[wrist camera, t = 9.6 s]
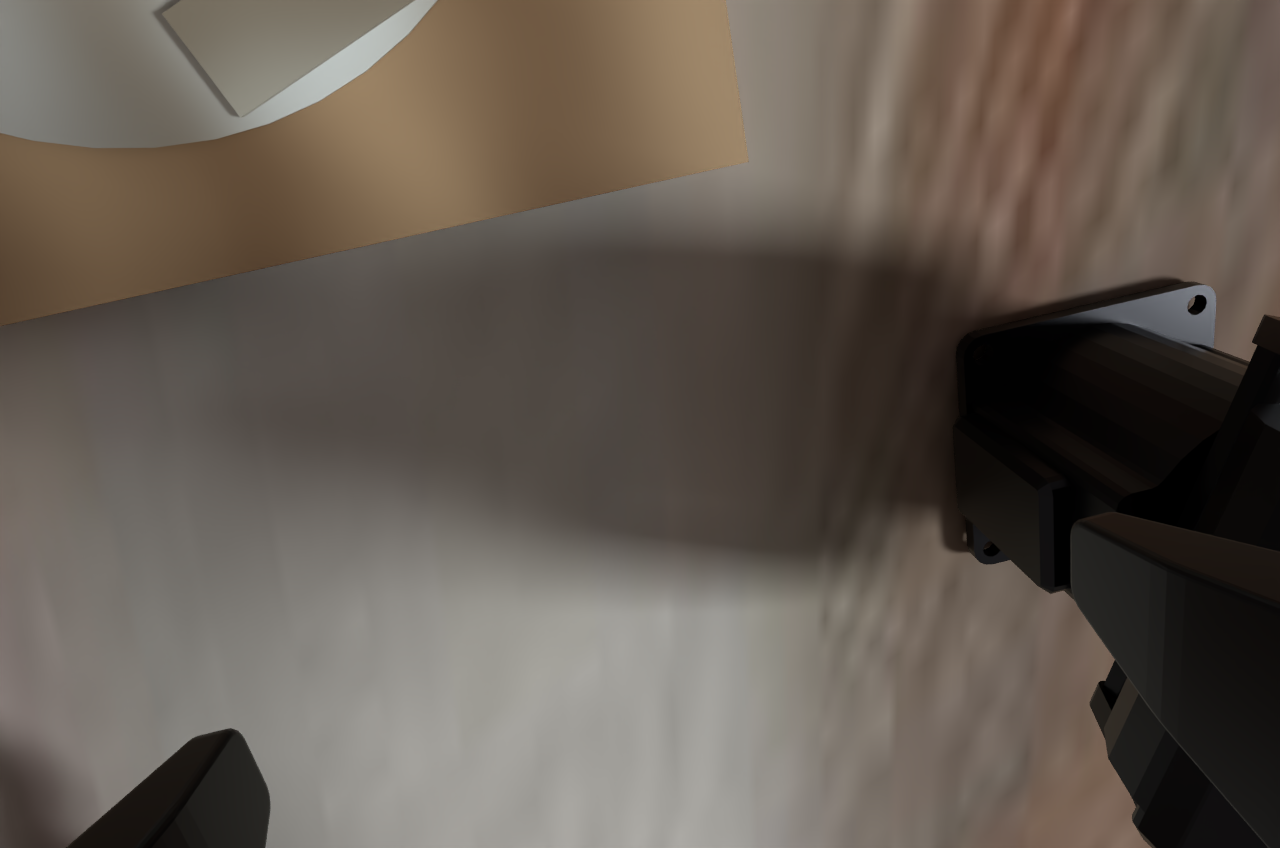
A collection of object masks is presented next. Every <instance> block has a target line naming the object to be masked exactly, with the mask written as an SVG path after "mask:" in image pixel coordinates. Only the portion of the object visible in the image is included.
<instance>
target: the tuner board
mask: <svg viewBox="0 0 1280 848" xmlns="http://www.w3.org/2000/svg"><path fill="white" fill-rule="evenodd" d="M745 162H749V161H748V154H747V147H746V140H745V133H744V126H743V119H742V112H741V105H740V98H739V91H738V84H737V77H736V70H735V63H734V56H733V49H732V42H731V35H730V28H729V21H728V14H727V7H726V0H0V326H3V325H8V324H12V323H17V322H21V321H26V320H31V319H35V318H40V317H44V316H49V315H53V314H58V313H62V312H67V311H71V310H76V309H81V308H85V307H90V306H94V305H99V304H103V303H108V302H112V301H117V300H122V299H126V298H131V297H135V296H140V295H144V294H149V293H153V292H158V291H163V290H167V289H172V288H176V287H181V286H185V285H190V284H194V283H199V282H203V281H208V280H213V279H217V278H222V277H226V276H231V275H235V274H240V273H244V272H249V271H254V270H258V269H263V268H267V267H272V266H276V265H281V264H285V263H290V262H294V261H299V260H304V259H308V258H313V257H317V256H322V255H326V254H331V253H335V252H340V251H345V250H349V249H354V248H358V247H363V246H367V245H372V244H376V243H381V242H386V241H390V240H395V239H399V238H404V237H408V236H413V235H417V234H422V233H426V232H431V231H436V230H440V229H445V228H449V227H454V226H458V225H463V224H467V223H472V222H477V221H481V220H486V219H490V218H495V217H499V216H504V215H508V214H513V213H518V212H522V211H527V210H531V209H536V208H540V207H545V206H549V205H554V204H558V203H563V202H568V201H572V200H577V199H581V198H586V197H590V196H595V195H599V194H604V193H609V192H613V191H618V190H622V189H627V188H631V187H636V186H640V185H645V184H650V183H654V182H659V181H663V180H668V179H672V178H677V177H681V176H686V175H690V174H695V173H700V172H704V171H709V170H713V169H718V168H722V167H727V166H731V165H736V164H741V163H745Z"/></svg>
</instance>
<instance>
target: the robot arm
mask: <svg viewBox="0 0 1280 848" xmlns="http://www.w3.org/2000/svg"><path fill="white" fill-rule="evenodd" d="M1194 296H1195V302H1194V305H1193V306H1192V307H1191V308H1190V309H1187V306H1188V303H1189V301H1190V300H1191V299H1192V297H1194ZM1215 313H1216V295H1215V292H1214V291H1213V289H1212V288H1211V287H1209V286H1207V285H1204V284H1200V283H1197V282H1184V283H1179V284H1175V285H1171V286H1166V287H1162V288H1158V289H1153V290H1149V291H1145V292H1141V293H1136V294H1132V295H1128V296H1123V297H1119V298H1115V299H1110V300H1106V301H1102V302H1097V303H1093V304H1089V305H1085V306H1080V307H1076V308H1072V309H1067V310H1063V311H1059V312H1054V313H1050V314H1046V315H1042V316H1037V317H1033V318H1029V319H1024V320H1020V321H1016V322H1011V323H1007V324H1003V325H999V326H994V327H990V328H986V329H981V330H977V331H973V332H971V333H969V334H967V335H966V336H965V337H964V338H963V339H961V341H960V343H959V344H958V346H957V351H956V363H957V380H958V397H959V414H960V416H959V417H958V418H957V420H956V422H955V424H954V426H953V439H954V455H955V471H956V487H957V503H958V509H959V511H960V512H961V513H962V514H963V515H964V516H965V517H966V532H967V546H968V549H969V551H970V553H971V554H972V555H973V556H974V557H975V558H976V559H977V560H978V561H979V562H980V563H983V564H995V563H999V562H1003V561H1007V560H1011V561H1012V562H1013V563H1014V564H1015V565H1017V566H1018V567H1019V568H1020V569H1021V570H1022V571H1023V572H1024V573H1025V574H1026V575H1027V576H1028V577H1029V578H1030V579H1031V580H1032V581H1033V582H1034V583H1035V584H1036V585H1037V586H1039V587H1040V588H1042V589H1044V590H1045V591H1047V592H1049V593H1050V594H1052V593H1056V592H1060V591H1065V592H1066V593H1067V594H1068V595H1069V596H1070V597H1072V598H1073V599H1074V600H1075V601H1076V604H1077V606H1078V607H1079V609H1080V610H1081V612H1082V613H1083V615H1084V616H1085V617H1086V619H1087V620H1088V622H1089V623H1090V625H1091V626H1092V627H1093V629H1094V630H1095V632H1096V633H1097V635H1098V636H1099V637H1100V639H1101V640H1102V642H1103V643H1104V645H1105V646H1106V647H1107V649H1108V650H1109V652H1110V653H1111V654H1112V656H1113V657H1114V659H1115V661H1114V663H1113V666H1112V668H1111V670H1110V672H1109V674H1108V677H1107V679H1106V681H1100V682H1099V683H1098V685H1097V687H1096V689H1095V692H1094V694H1093V696H1092V698H1091V701H1090V707H1091V709H1092V711H1093V713H1094V716H1095V718H1096V720H1097V722H1098V724H1099V727H1100V729H1101V731H1102V733H1103V735H1104V738H1105V740H1106V747H1107V753H1108V759H1109V760H1110V762H1111V764H1112V765H1113V767H1114V769H1115V770H1116V772H1117V774H1118V775H1119V777H1120V778H1121V780H1122V782H1123V783H1124V785H1125V787H1126V788H1127V790H1128V792H1129V793H1130V795H1131V797H1132V799H1133V801H1134V803H1135V805H1136V808H1135V810H1134V812H1133V814H1132V821H1133V823H1134V824H1135V826H1136V828H1137V830H1138V831H1139V833H1140V835H1141V836H1142V838H1143V839H1144V840H1145V841H1146V842H1147V843H1148V844H1149V845H1150V846H1151V847H1152V848H1280V317H1276V316H1271V315H1264V316H1263V318H1262V321H1261V323H1260V325H1259V327H1258V329H1257V332H1256V334H1255V336H1254V338H1253V341H1252V342H1253V343H1254V344H1257V348H1256V350H1255V352H1254V354H1253V356H1252V359H1251V361H1250V362H1249V361H1246V360H1243V359H1241V358H1238V357H1235V356H1232V355H1230V354H1227V353H1224V352H1222V351H1219V350H1216V349H1214V348H1213V346H1214V330H1215ZM982 345H985V352H984V354H983V355H982V357H981V358H979V359H977V360H974V358H973V356H974V352H975V350H976V349H977V348H978V347H980V346H982ZM989 541H991V542H992V543H993V544H992V545H991V546H990V547H989V548H987V549H984V546H985V544H986V543H987V542H989ZM269 816H270V796H269V791H268V788H267V785H266V783H265V781H264V778H263V776H262V774H261V772H260V770H259V768H258V766H257V764H256V762H255V760H254V757H253V755H252V753H251V751H250V749H249V747H248V745H247V743H246V741H245V739H244V737H243V736H242V734H241V733H240V732H239V731H237V730H235V729H232V728H229V729H225V730H220V731H216V732H212V733H208V734H204V735H200V736H197V737H195V738H192V739H191V740H190V741H188V742H187V743H186V744H185V745H184V746H183V747H181V748H180V749H179V750H178V751H177V752H176V753H175V754H173V755H172V756H171V757H170V758H169V759H168V760H167V761H165V762H164V763H163V764H162V765H161V766H160V767H158V768H157V769H156V770H155V771H154V772H153V773H152V774H150V775H149V776H148V777H147V778H146V779H145V780H144V781H142V782H141V783H140V784H139V785H138V786H137V787H135V788H134V789H133V790H132V791H131V792H130V793H129V794H127V795H126V796H125V797H124V798H123V799H122V800H120V801H119V802H118V803H117V804H116V805H115V806H114V807H112V808H111V809H110V810H109V811H108V812H107V813H106V814H104V815H103V816H102V817H101V818H100V819H99V820H97V821H96V822H95V823H94V824H93V825H92V826H91V827H89V828H88V829H87V830H86V831H85V832H84V833H83V834H81V835H80V836H79V837H78V838H77V839H76V840H74V841H73V842H72V843H71V844H70V845H69V846H68V847H66V848H265V846H266V839H267V831H268V824H269Z"/></svg>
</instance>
